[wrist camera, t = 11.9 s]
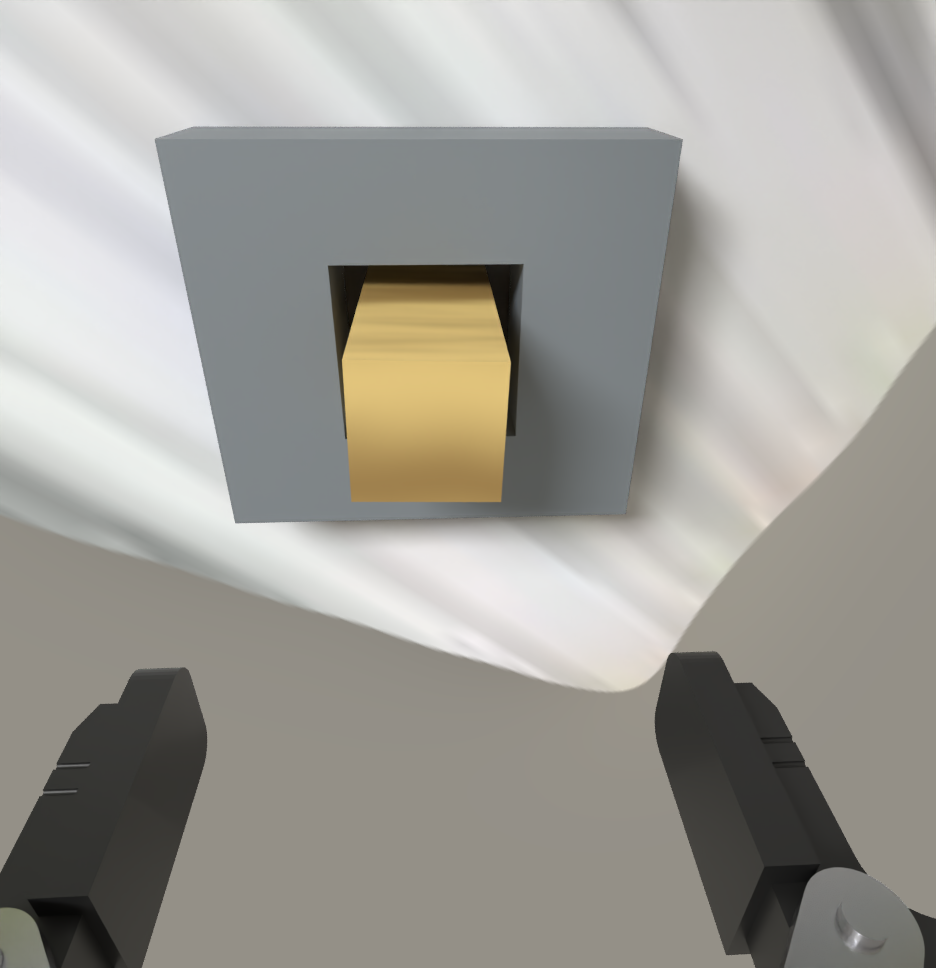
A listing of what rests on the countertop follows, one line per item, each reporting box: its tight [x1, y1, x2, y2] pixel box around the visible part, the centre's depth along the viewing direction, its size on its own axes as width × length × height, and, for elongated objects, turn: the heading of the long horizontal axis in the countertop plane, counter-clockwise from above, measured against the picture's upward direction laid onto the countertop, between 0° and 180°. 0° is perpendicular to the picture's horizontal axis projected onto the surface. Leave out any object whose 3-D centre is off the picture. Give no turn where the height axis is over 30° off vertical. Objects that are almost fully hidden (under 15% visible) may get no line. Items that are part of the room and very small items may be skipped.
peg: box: [342, 265, 511, 502], centre depth 24 cm, size 4×4×10 cm
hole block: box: [155, 127, 683, 523], centre depth 26 cm, size 14×16×4 cm
